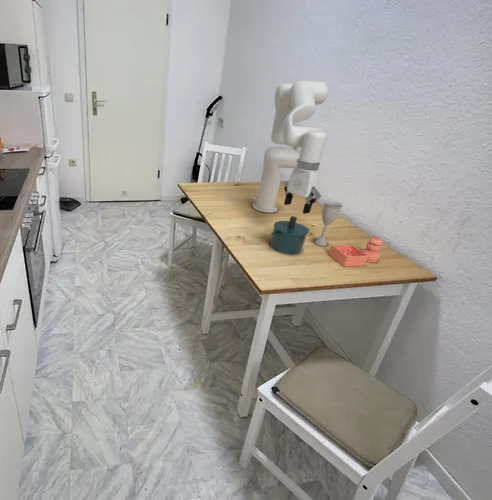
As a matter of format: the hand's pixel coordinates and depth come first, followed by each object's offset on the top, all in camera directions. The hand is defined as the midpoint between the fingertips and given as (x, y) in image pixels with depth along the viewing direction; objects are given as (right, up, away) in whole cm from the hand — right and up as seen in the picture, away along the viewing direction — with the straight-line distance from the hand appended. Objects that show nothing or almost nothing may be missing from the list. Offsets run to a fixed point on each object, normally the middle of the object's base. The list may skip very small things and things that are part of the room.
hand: (296, 208), depth 142 cm
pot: (-1, -15, +9) cm, 17 cm away
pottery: (+25, -20, +2) cm, 32 cm away
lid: (0, -8, +4) cm, 9 cm away
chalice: (+16, -13, +14) cm, 25 cm away
